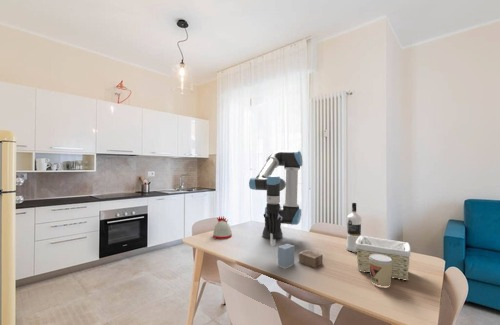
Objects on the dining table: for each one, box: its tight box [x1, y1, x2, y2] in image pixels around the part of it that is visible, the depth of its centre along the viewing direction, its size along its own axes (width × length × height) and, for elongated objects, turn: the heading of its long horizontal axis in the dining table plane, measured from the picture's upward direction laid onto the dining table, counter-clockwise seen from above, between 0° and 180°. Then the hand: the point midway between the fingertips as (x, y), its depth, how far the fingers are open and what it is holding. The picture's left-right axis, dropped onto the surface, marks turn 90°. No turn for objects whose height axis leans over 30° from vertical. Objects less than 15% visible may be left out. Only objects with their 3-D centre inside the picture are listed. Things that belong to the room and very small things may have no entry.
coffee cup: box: [369, 254, 393, 286], centre depth 108 cm, size 9×9×12 cm
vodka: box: [345, 202, 362, 253], centre depth 151 cm, size 9×9×30 cm
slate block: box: [277, 243, 296, 269], centre depth 128 cm, size 8×5×10 cm, turn 134°
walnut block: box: [298, 249, 323, 269], centre depth 131 cm, size 8×5×10 cm
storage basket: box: [355, 235, 412, 281], centre depth 122 cm, size 24×16×15 cm
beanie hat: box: [212, 215, 233, 240], centre depth 178 cm, size 14×14×15 cm
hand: (272, 244), depth 135 cm, fingers closed
